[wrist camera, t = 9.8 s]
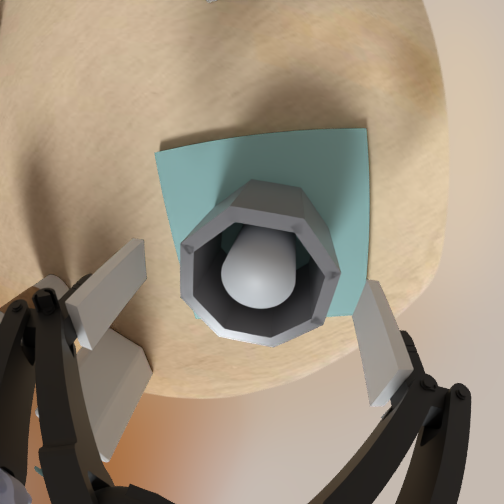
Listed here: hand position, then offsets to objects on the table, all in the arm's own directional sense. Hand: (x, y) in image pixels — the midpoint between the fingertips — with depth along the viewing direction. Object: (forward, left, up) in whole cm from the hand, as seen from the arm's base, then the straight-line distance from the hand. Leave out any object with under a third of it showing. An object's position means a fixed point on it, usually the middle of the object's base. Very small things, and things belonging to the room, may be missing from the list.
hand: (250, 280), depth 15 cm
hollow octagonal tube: (0, 0, -7) cm, 7 cm away
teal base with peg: (0, 0, -8) cm, 8 cm away
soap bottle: (+16, -22, -8) cm, 28 cm away
